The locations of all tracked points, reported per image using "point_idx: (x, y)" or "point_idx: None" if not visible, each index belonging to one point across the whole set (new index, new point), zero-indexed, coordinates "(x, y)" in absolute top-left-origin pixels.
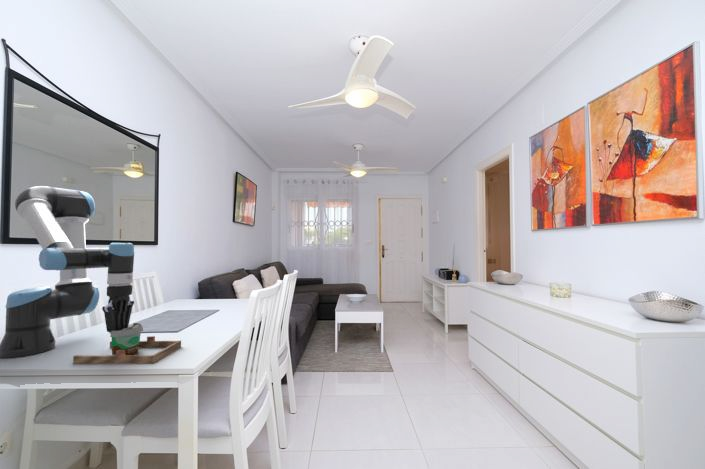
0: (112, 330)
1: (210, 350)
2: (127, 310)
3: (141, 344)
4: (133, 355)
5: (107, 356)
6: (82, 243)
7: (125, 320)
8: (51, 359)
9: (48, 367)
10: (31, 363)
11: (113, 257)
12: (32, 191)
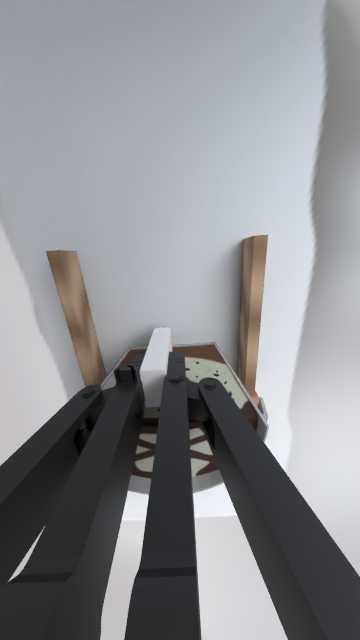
0: (84, 424)
1: (211, 511)
2: (278, 599)
3: (241, 366)
4: None
5: (83, 374)
6: None
7: (215, 449)
8: (77, 79)
9: (9, 187)
10: (9, 15)
11: None
12: None
